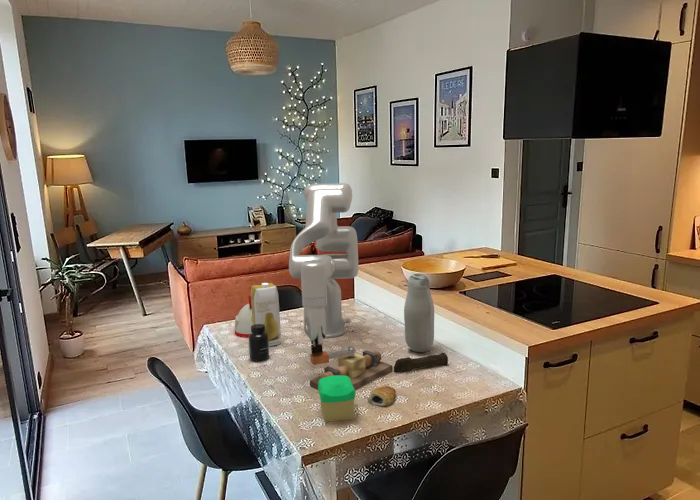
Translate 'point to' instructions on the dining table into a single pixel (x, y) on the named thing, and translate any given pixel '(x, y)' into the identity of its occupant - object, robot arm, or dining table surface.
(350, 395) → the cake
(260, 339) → the supplement bottle
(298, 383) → the dining table surface
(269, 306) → the juice carton
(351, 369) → the pipe board
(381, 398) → the pastry
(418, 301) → the grey bottle
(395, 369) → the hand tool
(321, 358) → the valve lever
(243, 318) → the white and red dome
